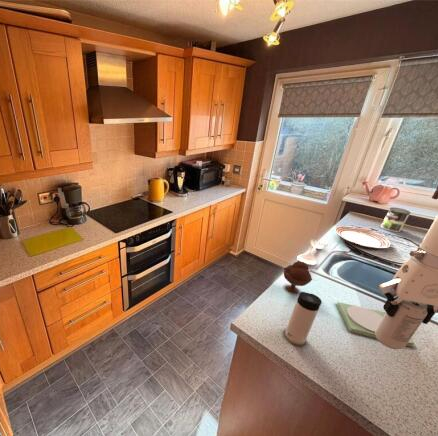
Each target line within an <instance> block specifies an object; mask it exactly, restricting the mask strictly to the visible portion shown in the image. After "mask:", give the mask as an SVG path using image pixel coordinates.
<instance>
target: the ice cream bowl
mask: <svg viewBox="0 0 438 436" xmlns="http://www.w3.org/2000/svg"><path fill="white" fill-rule="evenodd" d="M283 277H284V279H285V280H286V281H287V282H288V283H289V285H286V286H285V291H287V292H288V293H291V294H293V295H294V294H296V295H297V294H299V293H300V292H299V289H298V288H297V287H304V286H306V285H308V284H310V283H311V282H312V280H313V277H312V274H311V272H310V271H309V265H307V264H306V263H305V262H302V261H299V260H297V261H294V262H293V263H292V264H288V265H287V266H286V267H283ZM296 286H297V287H296Z"/></svg>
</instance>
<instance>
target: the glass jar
mask: <svg viewBox="0 0 438 436" xmlns="http://www.w3.org/2000/svg"><path fill="white" fill-rule="evenodd" d="M410 214H411V211H409V210H407V209H404V208H400V207H389V208H388V211H387V212H386V215H385V217H384V219H383V221H382V223H381V225H380V228H382V229H384V230H386V231H390V232H393V233H399V232H401V231H402V229H403V227H404V225H405V224H406V222H407V220H408V218H409V216H410Z"/></svg>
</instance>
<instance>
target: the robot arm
mask: <svg viewBox="0 0 438 436" xmlns="http://www.w3.org/2000/svg"><path fill="white" fill-rule="evenodd" d="M377 287H378V289H379V290H380V292H382V293H383V295H384V296H385V297H386V298H387V299H386V301H385V302H384V304H383V310H384V312H386V313H387V314H388V316H390V317H393V316H394V315H395V313H396V311H397V310H398V308H399V305H398V303H400V302H401V301H403V300H408V301H413V302H418V303H423V304H426V305H427V308H426V309H427V312H428V314H427V315H426V317H425V318H424V320H423V321H422V323H421V324H425V325H428V324H429V322H430V321H431V320H432V319H433V317H434V315H435V314H438V214H437V215H436V217H435V218H434V219H433V222H432V223H431V225H430V227H429V229H428V231H427V232H426V234H425V236H424V238H423V239H422V241H421V243H420V245H419V247H417V249H416V250H411V251H410V252H409V258H408V259H406V261H404V263H402V265H401V266H400V267H399V269H398V270H397V271H396V273H395V274H394V276H393V278H392V279H391V280H390V281H386V282H384V283H380V284H378V285H377ZM390 290H391V291H390Z"/></svg>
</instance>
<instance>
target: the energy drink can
mask: <svg viewBox="0 0 438 436" xmlns="http://www.w3.org/2000/svg"><path fill="white" fill-rule="evenodd" d="M398 305H399V308H398V310H397V311H396V313H395V315H394V316H393V317H390V316H388V314H387V313H386V314H385V316H384V318H383V319H382V321H381V323H380V324H379V326H378V328H377V330H376V331H375V335H376V337H377V338H376V339H377V341H378V342H379V343H380V344H382V345H383V346H385V347H386V348H389V349H391V350H403V349H405V348H406V347H407V346H406V345H407V343H408V342H409V340H410V339H411V340H412V337H413V336H414V335H415V333H416V332H417V330H418V328H419V327H420V326H421V324H423V323H422V321H423V320H424V318H425V317H426V315H427V314H428V312H427V309H426V308H427V305H426V304H423V303H418V302H413V301H408V300H403V301H401V302H400V303H398Z"/></svg>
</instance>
